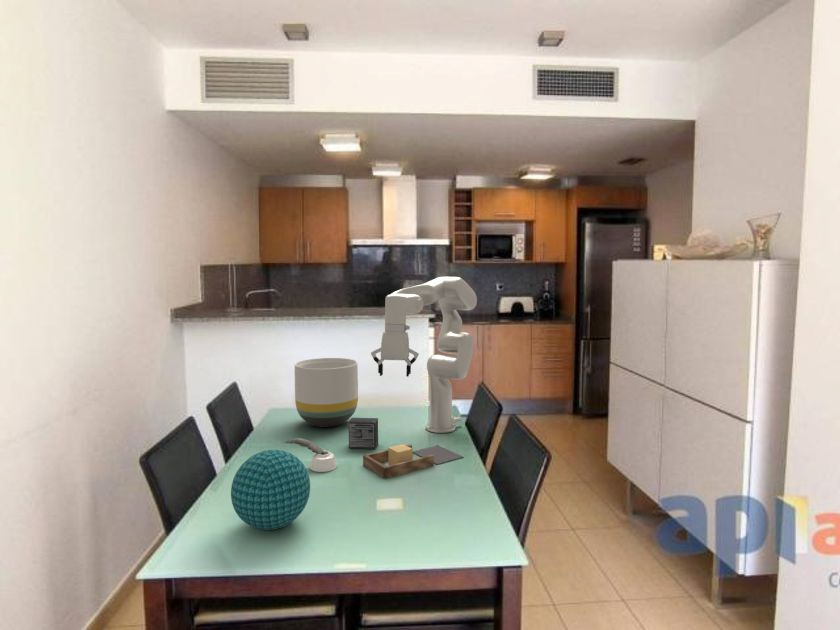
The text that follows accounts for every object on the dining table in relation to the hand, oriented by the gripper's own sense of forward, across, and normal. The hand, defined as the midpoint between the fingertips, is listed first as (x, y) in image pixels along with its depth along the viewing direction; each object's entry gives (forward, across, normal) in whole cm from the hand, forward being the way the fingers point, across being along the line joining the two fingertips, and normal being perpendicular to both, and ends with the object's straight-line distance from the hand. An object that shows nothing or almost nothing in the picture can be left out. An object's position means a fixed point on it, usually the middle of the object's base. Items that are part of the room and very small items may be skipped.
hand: (394, 375), depth 190 cm
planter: (+28, +32, -35) cm, 55 cm away
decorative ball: (+32, +27, +55) cm, 69 cm away
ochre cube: (+29, -4, +11) cm, 31 cm away
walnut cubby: (+29, -4, +11) cm, 31 cm away
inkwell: (+30, +27, +14) cm, 43 cm away
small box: (+29, +12, -8) cm, 32 cm away
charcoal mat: (+28, -16, +1) cm, 33 cm away
